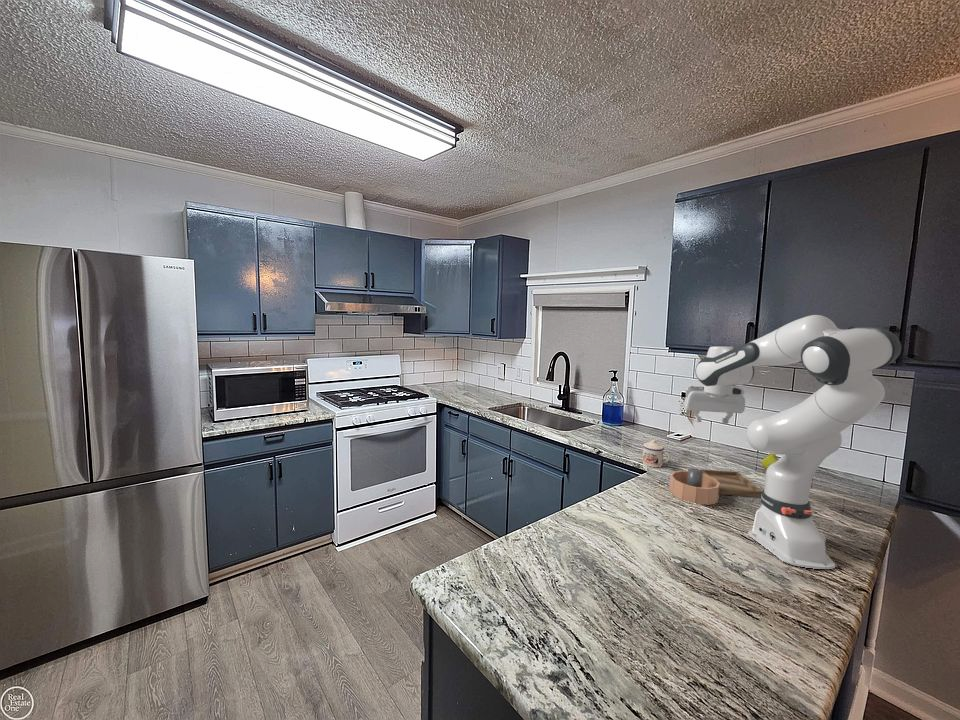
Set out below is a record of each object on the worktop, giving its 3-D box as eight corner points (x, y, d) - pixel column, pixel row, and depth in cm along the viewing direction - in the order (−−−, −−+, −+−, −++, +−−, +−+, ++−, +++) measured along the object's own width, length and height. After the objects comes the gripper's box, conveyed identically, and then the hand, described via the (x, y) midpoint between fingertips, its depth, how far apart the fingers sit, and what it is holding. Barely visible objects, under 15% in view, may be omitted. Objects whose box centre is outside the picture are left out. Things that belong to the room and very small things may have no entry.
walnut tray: (761, 498, 154) (762, 492, 154) (719, 495, 156) (720, 489, 156) (736, 477, 174) (737, 471, 174) (699, 474, 176) (700, 469, 176)
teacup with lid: (639, 464, 187) (640, 440, 185) (645, 459, 194) (646, 436, 192) (666, 471, 179) (668, 446, 178) (671, 465, 186) (673, 441, 185)
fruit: (771, 475, 177) (774, 449, 175) (757, 469, 183) (759, 444, 182) (783, 473, 179) (786, 447, 177) (768, 468, 185) (771, 443, 184)
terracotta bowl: (725, 507, 147) (727, 490, 146) (677, 503, 149) (679, 486, 148) (707, 487, 163) (708, 472, 162) (664, 484, 165) (665, 469, 165)
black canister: (702, 498, 153) (704, 473, 152) (688, 497, 154) (690, 472, 153) (697, 492, 158) (699, 468, 157) (684, 491, 159) (686, 467, 158)
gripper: (689, 388, 149) (685, 423, 151) (749, 390, 146) (744, 427, 148) (683, 383, 155) (680, 418, 157) (741, 386, 152) (736, 421, 154)
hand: (711, 422), depth 153 cm, fingers open, 8 cm apart
